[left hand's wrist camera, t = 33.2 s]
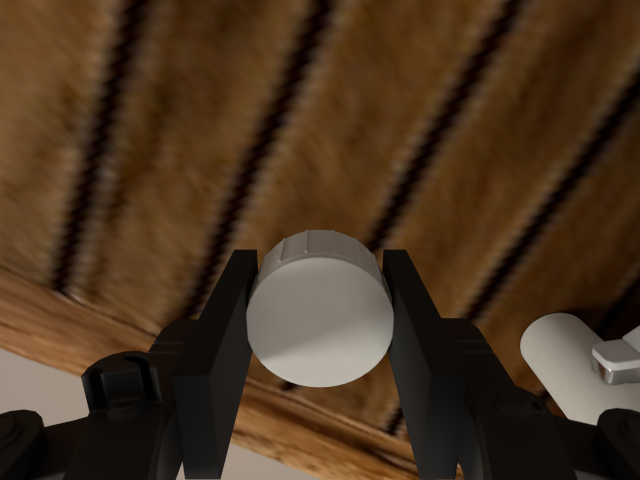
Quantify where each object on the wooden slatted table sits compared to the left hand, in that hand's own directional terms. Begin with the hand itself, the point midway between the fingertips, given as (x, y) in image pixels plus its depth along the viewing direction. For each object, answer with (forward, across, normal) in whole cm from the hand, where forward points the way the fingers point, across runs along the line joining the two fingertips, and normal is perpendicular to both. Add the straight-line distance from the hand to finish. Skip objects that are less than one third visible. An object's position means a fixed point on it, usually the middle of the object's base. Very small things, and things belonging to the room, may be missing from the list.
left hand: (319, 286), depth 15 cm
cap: (-2, 0, 0) cm, 2 cm away
